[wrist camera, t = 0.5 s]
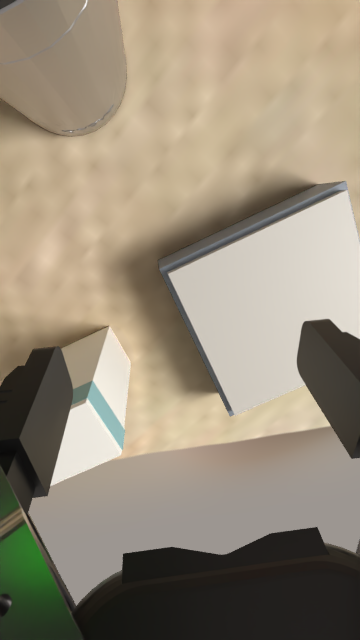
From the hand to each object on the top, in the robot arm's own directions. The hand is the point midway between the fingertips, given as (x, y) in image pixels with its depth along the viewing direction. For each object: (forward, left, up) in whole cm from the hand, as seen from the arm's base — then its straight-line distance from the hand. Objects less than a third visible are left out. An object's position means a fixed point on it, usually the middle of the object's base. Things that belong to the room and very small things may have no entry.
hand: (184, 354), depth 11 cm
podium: (+8, +8, -20) cm, 23 cm away
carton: (+6, -10, -20) cm, 23 cm away
